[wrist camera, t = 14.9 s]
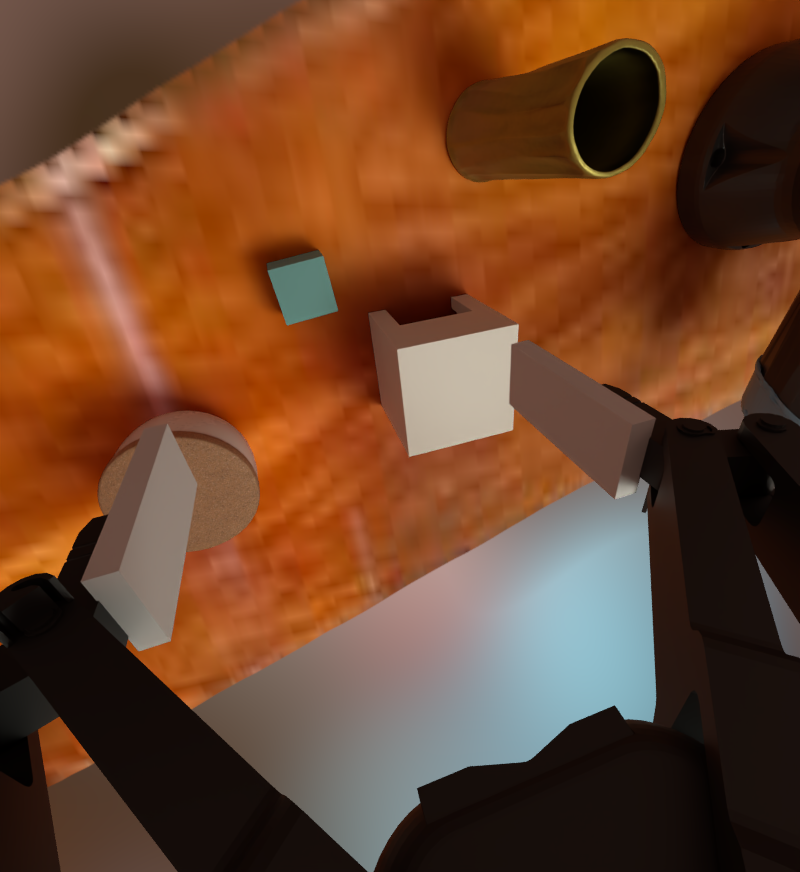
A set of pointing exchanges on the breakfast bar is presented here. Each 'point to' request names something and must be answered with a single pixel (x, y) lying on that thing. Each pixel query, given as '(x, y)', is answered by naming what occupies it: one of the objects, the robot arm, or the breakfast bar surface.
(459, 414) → the notched white block
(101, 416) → the breakfast bar surface
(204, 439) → the lidded jar
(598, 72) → the vase
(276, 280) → the teal block
